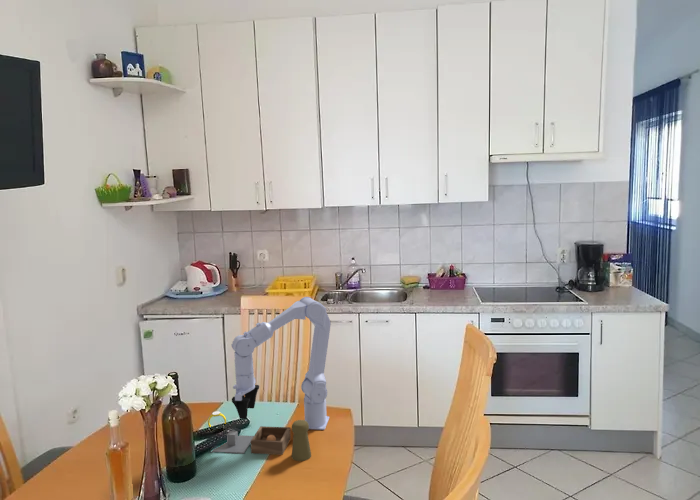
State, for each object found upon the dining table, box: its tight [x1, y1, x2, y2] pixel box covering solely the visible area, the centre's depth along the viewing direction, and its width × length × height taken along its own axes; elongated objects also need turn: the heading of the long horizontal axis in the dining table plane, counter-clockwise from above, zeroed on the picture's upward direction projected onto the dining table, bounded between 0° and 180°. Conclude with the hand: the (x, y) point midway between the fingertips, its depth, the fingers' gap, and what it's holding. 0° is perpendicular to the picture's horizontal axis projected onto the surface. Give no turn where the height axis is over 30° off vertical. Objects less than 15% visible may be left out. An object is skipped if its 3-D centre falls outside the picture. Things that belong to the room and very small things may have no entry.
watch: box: [207, 410, 227, 427], centre depth 181 cm, size 6×3×6 cm, turn 98°
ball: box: [266, 435, 276, 441], centre depth 168 cm, size 3×3×3 cm
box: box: [250, 425, 292, 456], centre depth 168 cm, size 10×10×4 cm
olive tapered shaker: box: [291, 419, 312, 462], centre depth 161 cm, size 6×6×11 cm
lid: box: [211, 430, 254, 455], centre depth 170 cm, size 11×11×4 cm
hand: (247, 413), depth 171 cm, fingers open, 7 cm apart
